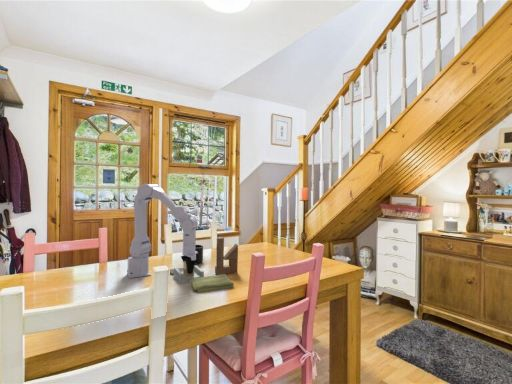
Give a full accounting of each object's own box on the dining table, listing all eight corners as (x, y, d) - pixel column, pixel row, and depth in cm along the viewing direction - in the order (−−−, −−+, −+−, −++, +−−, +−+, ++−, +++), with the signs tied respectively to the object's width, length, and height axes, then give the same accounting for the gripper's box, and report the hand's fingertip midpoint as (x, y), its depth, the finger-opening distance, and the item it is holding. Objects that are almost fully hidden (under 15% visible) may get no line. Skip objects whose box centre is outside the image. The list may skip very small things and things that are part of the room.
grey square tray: (180, 283, 126) (180, 274, 126) (173, 276, 135) (174, 268, 135) (203, 280, 131) (204, 271, 131) (196, 273, 141) (196, 265, 141)
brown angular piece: (237, 273, 143) (238, 237, 143) (217, 275, 138) (217, 238, 138) (235, 271, 146) (235, 236, 146) (214, 273, 142) (215, 237, 141)
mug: (190, 266, 152) (190, 249, 152) (183, 261, 163) (183, 245, 163) (206, 264, 157) (207, 248, 157) (199, 259, 168) (199, 244, 167)
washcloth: (188, 283, 127) (188, 276, 127) (226, 279, 134) (226, 272, 134) (194, 294, 115) (194, 286, 115) (235, 288, 122) (235, 281, 122)
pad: (171, 275, 137) (171, 273, 137) (168, 271, 143) (168, 269, 143) (191, 272, 142) (191, 270, 142) (187, 268, 148) (187, 267, 148)
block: (185, 276, 131) (185, 263, 130) (183, 273, 134) (183, 261, 134) (194, 275, 133) (194, 262, 132) (191, 272, 136) (191, 260, 136)
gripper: (202, 245, 129) (202, 275, 129) (192, 239, 141) (192, 267, 142) (187, 246, 125) (186, 277, 125) (178, 240, 138) (178, 268, 138)
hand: (188, 272), depth 133 cm, fingers closed on block, 4 cm apart
